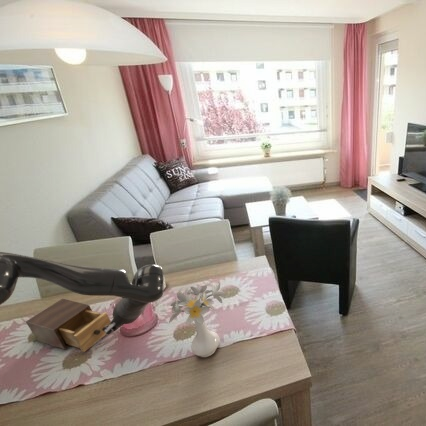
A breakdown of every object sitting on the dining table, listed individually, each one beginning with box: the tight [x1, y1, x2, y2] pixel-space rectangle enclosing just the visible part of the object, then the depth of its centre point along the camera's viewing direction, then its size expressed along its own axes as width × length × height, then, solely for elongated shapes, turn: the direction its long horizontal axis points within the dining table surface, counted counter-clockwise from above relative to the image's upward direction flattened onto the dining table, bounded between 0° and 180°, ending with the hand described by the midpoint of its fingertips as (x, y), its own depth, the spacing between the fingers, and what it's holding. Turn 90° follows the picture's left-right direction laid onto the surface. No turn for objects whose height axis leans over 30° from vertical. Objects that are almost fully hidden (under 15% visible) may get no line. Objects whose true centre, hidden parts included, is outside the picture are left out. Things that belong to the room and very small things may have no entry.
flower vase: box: [168, 281, 226, 358], centre depth 98 cm, size 13×18×25 cm
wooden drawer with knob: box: [57, 310, 112, 353], centre depth 107 cm, size 15×11×8 cm
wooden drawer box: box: [25, 298, 93, 350], centre depth 110 cm, size 15×13×10 cm
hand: (114, 327), depth 100 cm, fingers closed
